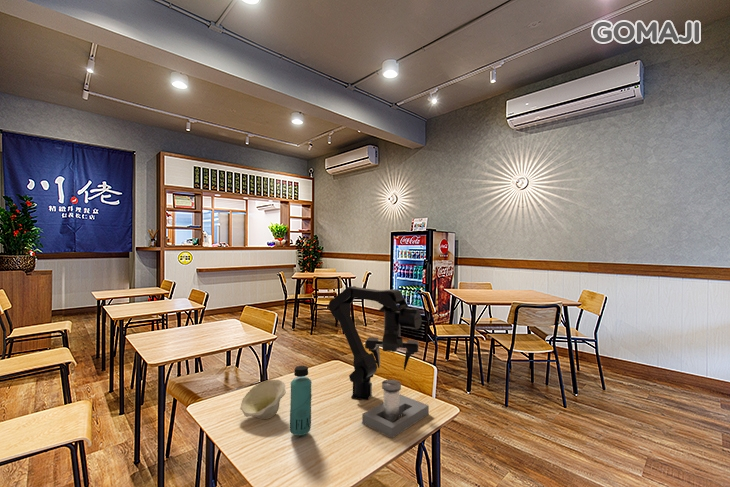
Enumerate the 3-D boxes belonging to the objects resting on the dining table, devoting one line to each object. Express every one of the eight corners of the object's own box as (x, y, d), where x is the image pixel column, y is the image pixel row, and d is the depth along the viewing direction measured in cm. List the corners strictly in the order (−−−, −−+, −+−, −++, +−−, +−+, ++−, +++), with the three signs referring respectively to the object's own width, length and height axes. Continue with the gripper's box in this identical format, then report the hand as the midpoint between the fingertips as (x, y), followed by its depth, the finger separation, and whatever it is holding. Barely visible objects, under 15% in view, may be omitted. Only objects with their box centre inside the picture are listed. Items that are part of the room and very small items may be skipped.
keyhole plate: (391, 438, 97) (391, 428, 98) (362, 423, 106) (362, 413, 106) (428, 414, 112) (428, 405, 112) (400, 402, 120) (400, 394, 120)
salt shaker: (383, 429, 102) (383, 387, 102) (380, 419, 108) (380, 379, 108) (402, 428, 103) (402, 386, 103) (398, 419, 109) (398, 379, 109)
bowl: (231, 416, 109) (232, 385, 109) (269, 402, 119) (270, 374, 119) (255, 434, 99) (255, 400, 99) (294, 417, 109) (294, 386, 109)
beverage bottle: (292, 443, 94) (293, 372, 95) (286, 431, 100) (287, 365, 100) (314, 437, 97) (315, 369, 98) (307, 426, 103) (308, 362, 103)
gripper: (362, 328, 113) (361, 374, 112) (417, 332, 109) (416, 379, 108) (368, 321, 124) (367, 363, 123) (419, 324, 120) (418, 368, 119)
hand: (391, 368), depth 118 cm, fingers open, 9 cm apart
